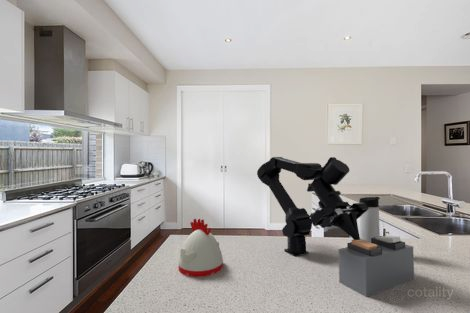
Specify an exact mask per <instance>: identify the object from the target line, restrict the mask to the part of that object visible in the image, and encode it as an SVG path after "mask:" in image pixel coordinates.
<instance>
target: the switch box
mask: <svg viewBox="0 0 470 313" xmlns="http://www.w3.org/2000/svg"><path fill="white" fill-rule="evenodd" d="M381 236H382V235H380V236H378V237H381ZM375 238H376V237H373V238H371V243H373V244H376V245H377V249H372V250H368V249H365V248H362V247H359V246H356V245H353V244H352V241H350V242H347V244H346V247H341V248H338V276H339V279H338V282H339V283H340V284H342V285H343V286H345V287H347V288H349V289H350V290H352V291H354V292H357V293H359V294H361V295H363V296H364V297H369V295H370V296H372V295H376V294H378V293H380V292H382V291H385V290H389V289H391V288H394V287H396V286H400V285H402V284H405V283H408V282H410V281H413V280H415V264H414V262H415V261H414V260H415V259H414V246H412V245H409V244H406V241H399V242H395V243H388V242H385V241H382V240H378V239H375Z"/></svg>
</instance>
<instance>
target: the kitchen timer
mask: <svg viewBox="0 0 470 313" xmlns="http://www.w3.org/2000/svg"><path fill="white" fill-rule="evenodd" d="M189 224H190V226H191V229H192V233H189V235H188V237H187V238H186V239H185V241H184V243H183V244H182V247H181V249H180V251H179V252H180V253H179V257H178V271H179V272H180V273H181V274H182V275H183V276H187V277H193V278H195V277H196V278H197V277H198V278H200V277H201V278H203V277H208V276H212V275H214V274H217V273H219V272H221V270H223V266H224V260H223V254H222V251H221V250H222V249H221V248H220V242H219V241H217V238H215V236H214V235H213V234H212V233H211V230H212V227H209V228H208V223H205V219H201V218H198V219H196V218H193V221H190V223H189Z"/></svg>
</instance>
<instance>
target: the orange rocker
mask: <svg viewBox="0 0 470 313" xmlns="http://www.w3.org/2000/svg"><path fill="white" fill-rule="evenodd" d="M351 242H352V244H353V245H356V246H359V247H362V248H365V249H368V250H372V249H377V245H376V244H373V243H371V242H368V241H365V240H363V239H359V240H355V239H351Z"/></svg>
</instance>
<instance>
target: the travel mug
mask: <svg viewBox="0 0 470 313" xmlns="http://www.w3.org/2000/svg"><path fill="white" fill-rule="evenodd" d="M358 200H359V202H358V203H365V204H366V205H367V207H368V208H369V209H368V210H367V211H366V212H365V213H364V214H363V215H362V216H360V217H359V236H360V239H363V240H365V241H368V242H371V238H373V237H378V236H381V234H380V206H379V200H380V197H379V196H375V197H374V196H369V197H368V196H367V197H360V198H359V199H358Z"/></svg>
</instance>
